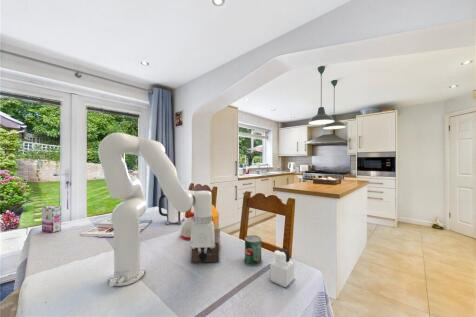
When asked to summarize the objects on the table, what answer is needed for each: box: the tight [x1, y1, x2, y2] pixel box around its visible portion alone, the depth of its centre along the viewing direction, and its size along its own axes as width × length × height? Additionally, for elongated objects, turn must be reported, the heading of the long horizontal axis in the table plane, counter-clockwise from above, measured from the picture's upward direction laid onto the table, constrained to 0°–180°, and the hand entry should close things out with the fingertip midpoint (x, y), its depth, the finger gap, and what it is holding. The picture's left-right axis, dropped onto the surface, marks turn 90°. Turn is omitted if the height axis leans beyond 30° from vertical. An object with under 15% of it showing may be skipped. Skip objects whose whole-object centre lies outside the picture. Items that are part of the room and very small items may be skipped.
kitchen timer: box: [180, 211, 194, 241], centre depth 127 cm, size 14×14×15 cm
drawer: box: [191, 244, 217, 263], centre depth 99 cm, size 21×12×7 cm, turn 3°
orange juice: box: [212, 204, 220, 229], centre depth 122 cm, size 8×9×20 cm
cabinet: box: [190, 228, 221, 264], centre depth 103 cm, size 18×13×9 cm
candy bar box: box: [41, 205, 62, 234], centre depth 134 cm, size 11×5×16 cm, turn 73°
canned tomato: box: [244, 234, 262, 267], centre depth 95 cm, size 8×8×11 cm
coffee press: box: [158, 194, 185, 225], centre depth 152 cm, size 17×16×30 cm
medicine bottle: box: [269, 248, 295, 288], centre depth 81 cm, size 7×7×12 cm
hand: (202, 261), depth 87 cm, fingers closed
